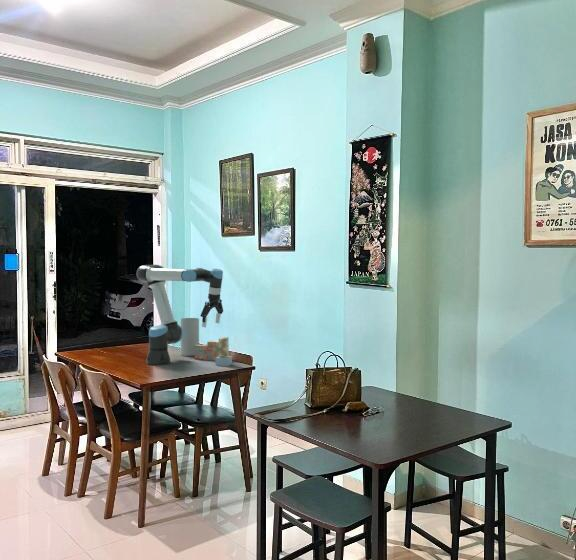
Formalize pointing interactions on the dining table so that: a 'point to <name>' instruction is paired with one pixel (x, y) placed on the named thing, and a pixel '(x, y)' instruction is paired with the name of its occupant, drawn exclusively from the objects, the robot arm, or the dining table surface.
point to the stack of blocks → (207, 350)
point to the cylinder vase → (189, 336)
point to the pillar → (223, 347)
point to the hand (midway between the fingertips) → (210, 324)
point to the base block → (224, 361)
